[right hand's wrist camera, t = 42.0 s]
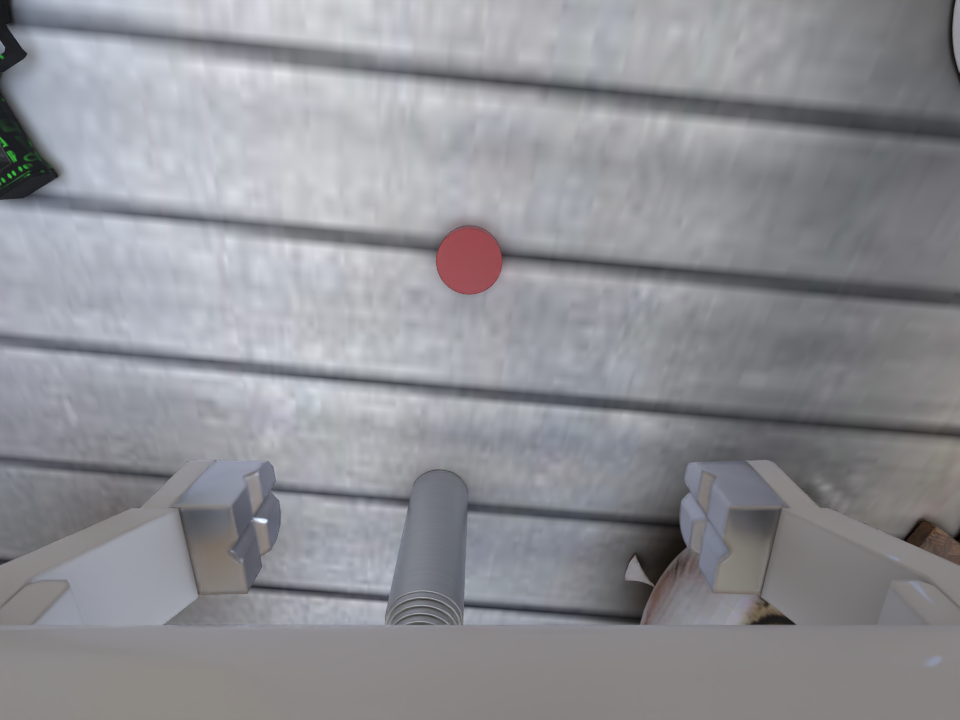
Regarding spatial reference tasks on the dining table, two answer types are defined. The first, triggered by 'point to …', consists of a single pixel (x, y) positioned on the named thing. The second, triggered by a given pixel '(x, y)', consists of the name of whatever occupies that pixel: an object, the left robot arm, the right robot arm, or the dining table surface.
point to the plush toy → (698, 599)
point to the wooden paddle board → (936, 542)
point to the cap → (469, 260)
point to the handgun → (16, 133)
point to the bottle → (431, 554)
